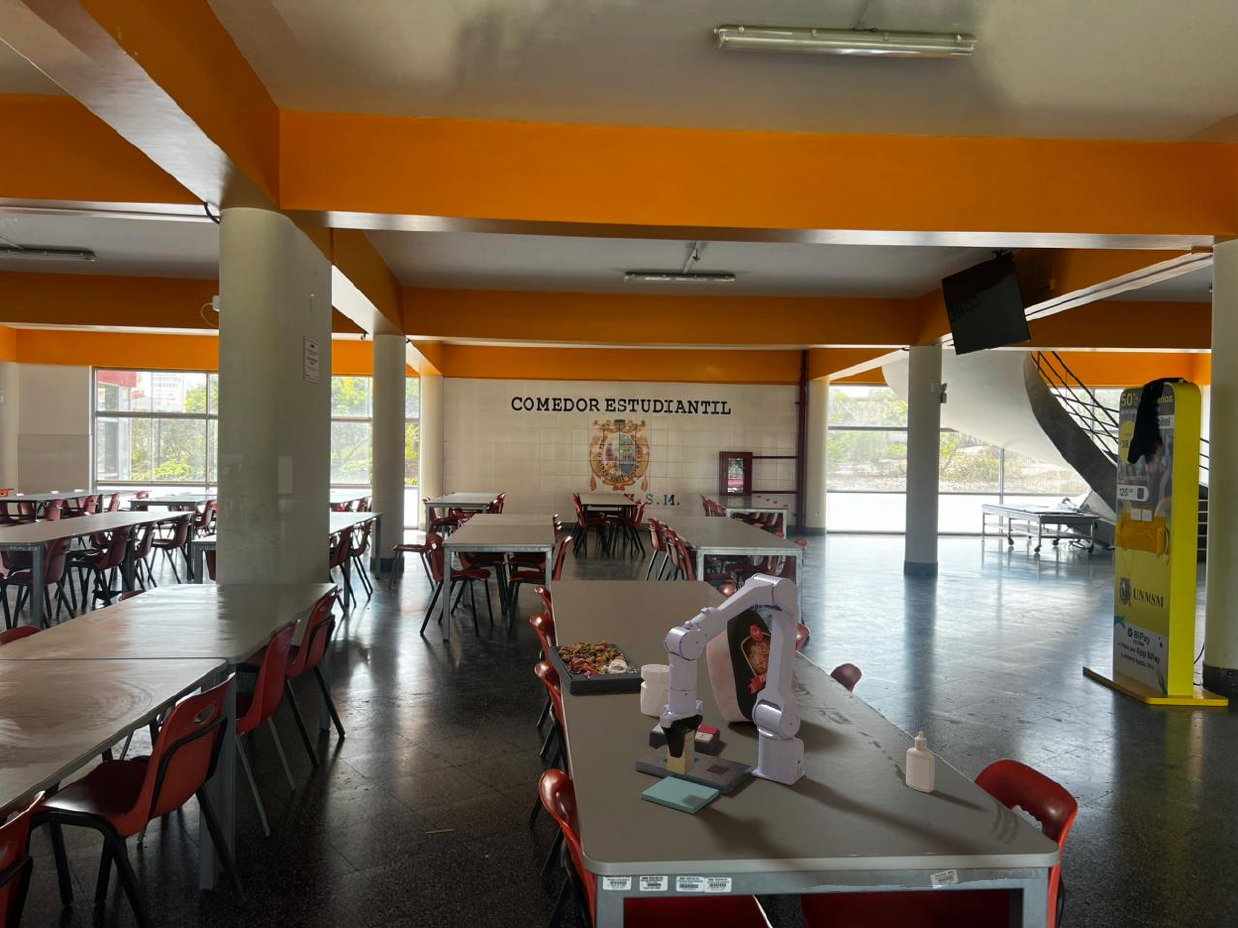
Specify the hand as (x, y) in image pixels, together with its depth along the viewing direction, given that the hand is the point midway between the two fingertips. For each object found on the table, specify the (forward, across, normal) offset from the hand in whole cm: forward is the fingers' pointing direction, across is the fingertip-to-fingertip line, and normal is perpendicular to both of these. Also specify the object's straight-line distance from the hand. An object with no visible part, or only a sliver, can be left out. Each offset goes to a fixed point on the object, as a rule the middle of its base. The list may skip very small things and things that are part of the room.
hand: (681, 753), depth 161 cm
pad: (+9, 0, 0) cm, 9 cm away
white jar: (+9, -45, -33) cm, 57 cm away
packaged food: (+9, -55, -11) cm, 57 cm away
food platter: (+10, -68, -70) cm, 98 cm away
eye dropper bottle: (+9, -35, +39) cm, 53 cm away
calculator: (+9, -28, -15) cm, 33 cm away
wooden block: (+3, 0, 0) cm, 3 cm away
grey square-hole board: (+9, -13, -4) cm, 16 cm away
